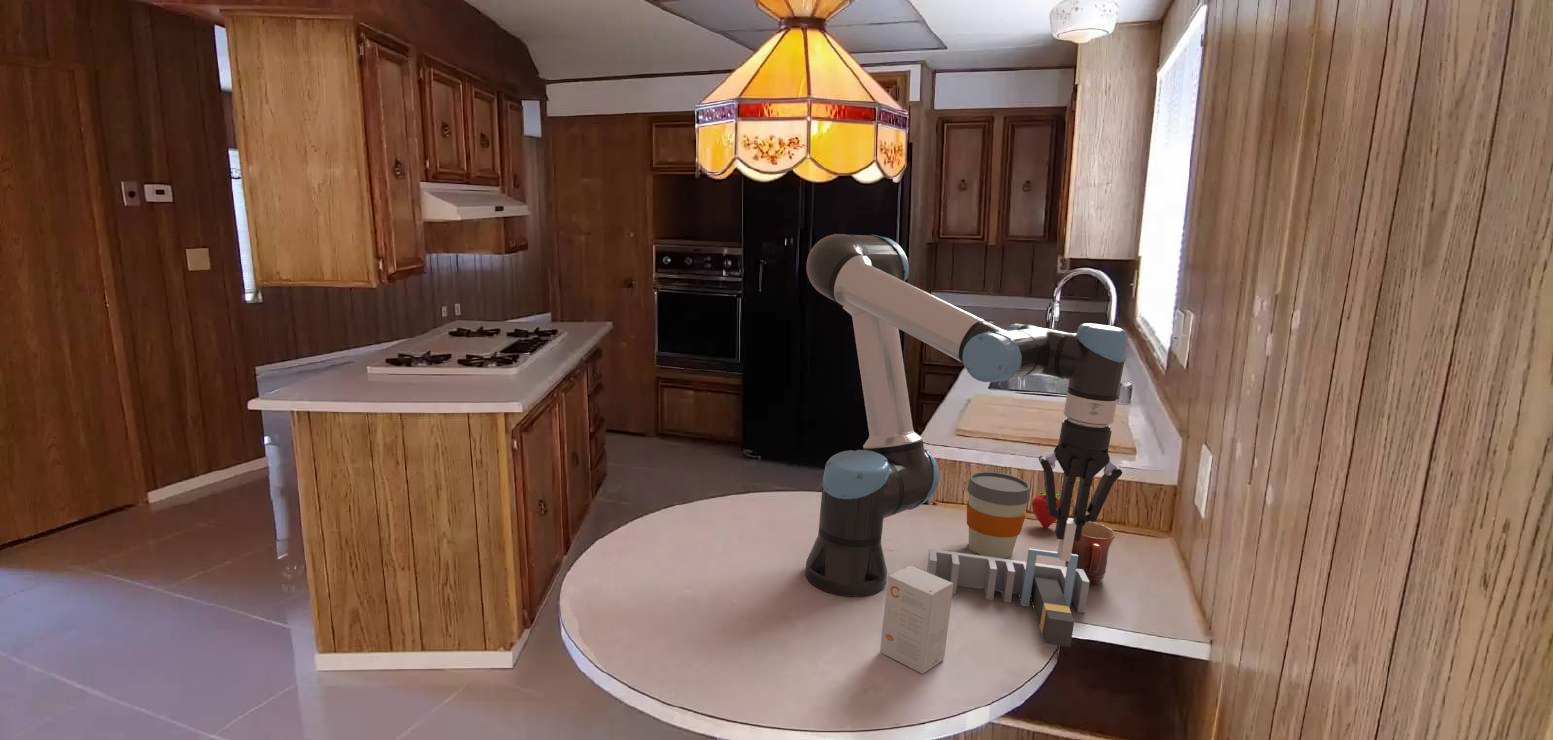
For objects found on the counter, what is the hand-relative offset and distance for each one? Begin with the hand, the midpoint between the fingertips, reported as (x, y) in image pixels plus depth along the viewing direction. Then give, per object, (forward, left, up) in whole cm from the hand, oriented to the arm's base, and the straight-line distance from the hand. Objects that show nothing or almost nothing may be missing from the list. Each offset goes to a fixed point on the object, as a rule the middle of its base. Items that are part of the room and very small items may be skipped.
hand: (1063, 557), depth 133 cm
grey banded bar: (0, +4, -14) cm, 14 cm away
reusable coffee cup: (-7, +32, -14) cm, 36 cm away
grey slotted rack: (-7, +11, -14) cm, 19 cm away
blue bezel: (0, +8, -14) cm, 16 cm away
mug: (+10, +22, -14) cm, 28 cm away
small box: (-24, -15, -14) cm, 31 cm away
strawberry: (+7, +49, -14) cm, 52 cm away
